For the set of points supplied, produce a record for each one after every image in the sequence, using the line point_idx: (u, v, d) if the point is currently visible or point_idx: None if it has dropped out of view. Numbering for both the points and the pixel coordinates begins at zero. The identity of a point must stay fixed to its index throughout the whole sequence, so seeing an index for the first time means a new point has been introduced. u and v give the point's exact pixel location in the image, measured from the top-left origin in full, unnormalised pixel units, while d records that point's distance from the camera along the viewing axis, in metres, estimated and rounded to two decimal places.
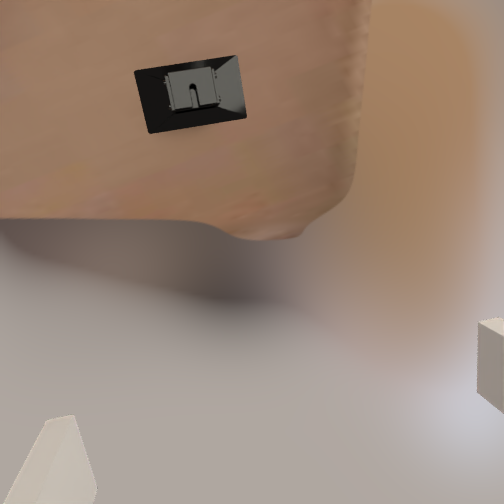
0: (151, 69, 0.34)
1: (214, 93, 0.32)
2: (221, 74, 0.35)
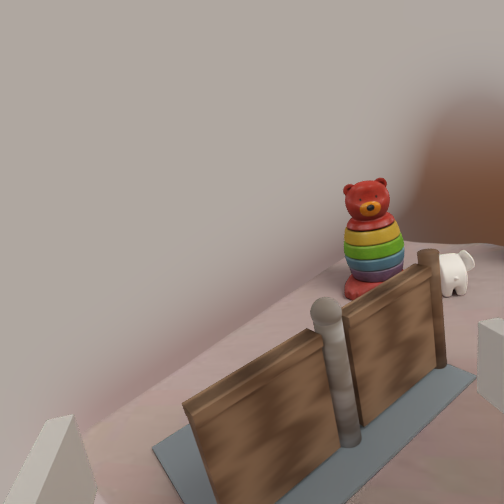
0: None
1: None
2: None
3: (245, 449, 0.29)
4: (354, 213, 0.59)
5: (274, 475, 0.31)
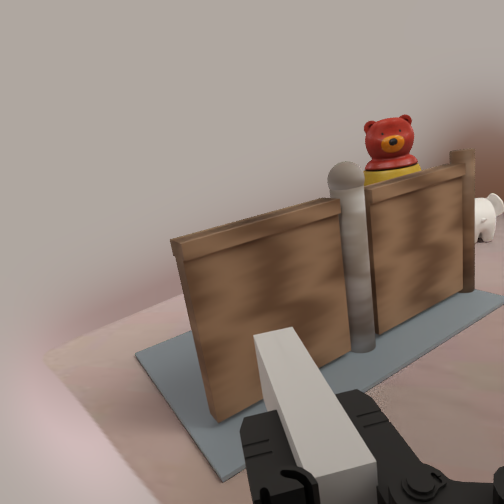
0: None
1: None
2: None
3: (241, 312, 0.24)
4: (374, 150, 0.54)
5: None
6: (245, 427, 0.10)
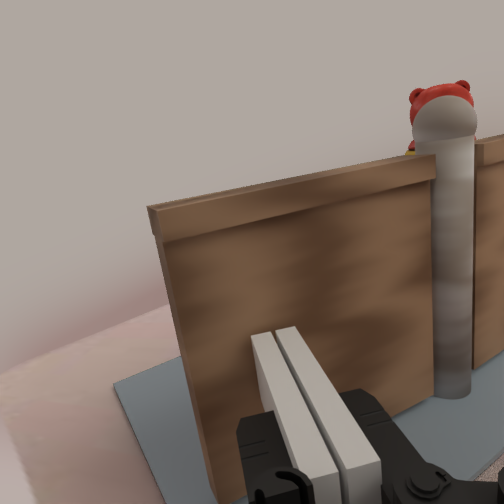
0: None
1: None
2: None
3: None
4: None
5: None
6: (242, 428, 0.10)
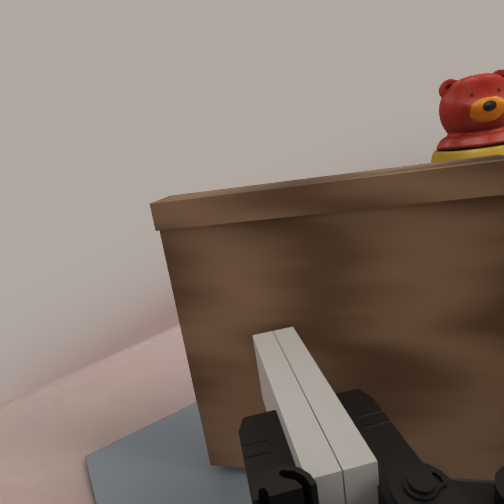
0: None
1: None
2: None
3: (253, 331, 0.15)
4: (458, 119, 0.38)
5: None
6: (244, 428, 0.10)
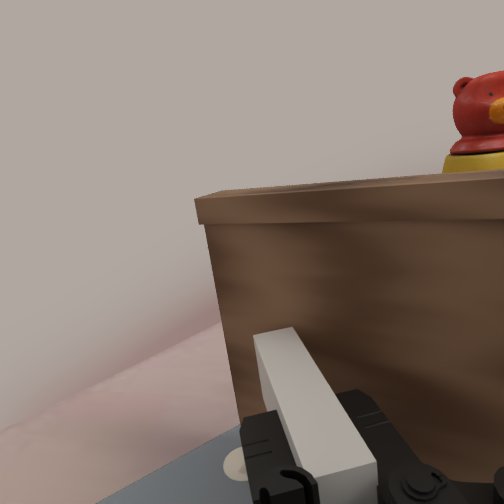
0: None
1: None
2: None
3: None
4: (475, 120, 0.35)
5: None
6: (244, 427, 0.10)
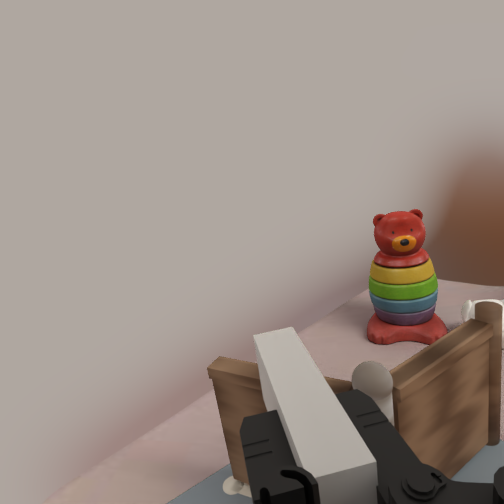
0: None
1: None
2: None
3: None
4: (385, 247, 0.52)
5: None
6: (245, 427, 0.10)
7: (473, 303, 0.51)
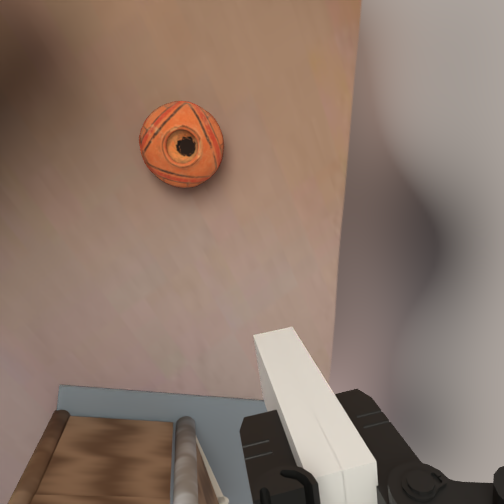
0: None
1: None
2: None
3: None
4: None
5: (211, 495, 0.47)
6: (245, 428, 0.10)
7: None
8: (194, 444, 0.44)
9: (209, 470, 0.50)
